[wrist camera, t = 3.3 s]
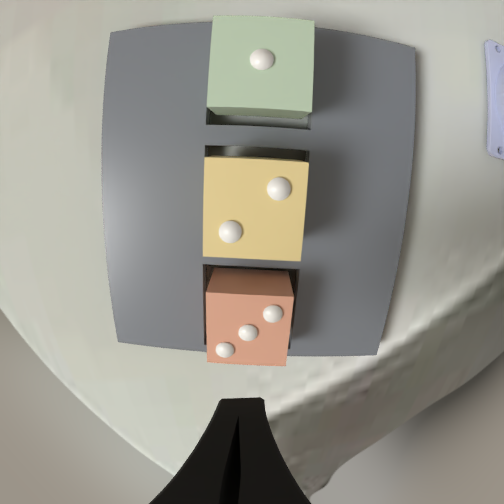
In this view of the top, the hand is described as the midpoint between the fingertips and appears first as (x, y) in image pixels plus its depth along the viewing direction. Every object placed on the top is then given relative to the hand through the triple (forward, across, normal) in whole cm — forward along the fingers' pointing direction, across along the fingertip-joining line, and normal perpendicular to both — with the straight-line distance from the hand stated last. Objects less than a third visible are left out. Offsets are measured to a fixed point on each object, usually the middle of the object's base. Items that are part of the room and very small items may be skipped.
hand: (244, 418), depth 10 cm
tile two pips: (+8, -1, -6) cm, 10 cm away
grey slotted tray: (+9, -1, -6) cm, 11 cm away
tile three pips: (+9, 0, 0) cm, 9 cm away
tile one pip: (+8, -1, -12) cm, 14 cm away
